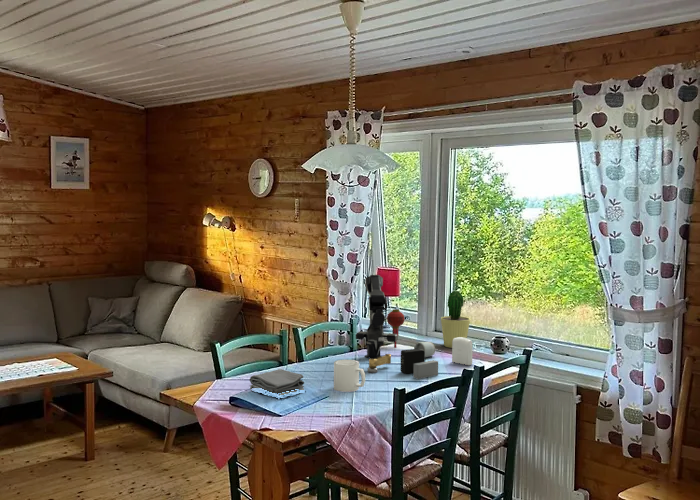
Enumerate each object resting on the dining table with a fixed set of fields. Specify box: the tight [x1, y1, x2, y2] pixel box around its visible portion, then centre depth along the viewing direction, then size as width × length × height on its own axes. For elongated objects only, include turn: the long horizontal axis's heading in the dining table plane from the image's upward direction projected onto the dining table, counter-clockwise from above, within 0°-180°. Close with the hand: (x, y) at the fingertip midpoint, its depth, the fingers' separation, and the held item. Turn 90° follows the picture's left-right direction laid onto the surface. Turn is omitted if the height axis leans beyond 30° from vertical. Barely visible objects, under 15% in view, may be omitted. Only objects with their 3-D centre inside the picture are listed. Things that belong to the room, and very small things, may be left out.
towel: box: [249, 368, 305, 395], centre depth 270 cm, size 15×18×8 cm
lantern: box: [386, 308, 406, 349], centre depth 356 cm, size 10×10×30 cm
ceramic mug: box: [413, 341, 436, 358], centre depth 337 cm, size 11×8×8 cm
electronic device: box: [399, 348, 426, 375], centre depth 304 cm, size 4×10×10 cm, turn 115°
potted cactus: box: [440, 290, 471, 349], centre depth 362 cm, size 15×15×30 cm
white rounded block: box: [451, 337, 474, 366], centre depth 323 cm, size 10×4×12 cm, turn 44°
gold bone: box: [368, 353, 392, 368], centre depth 309 cm, size 14×3×4 cm, turn 141°
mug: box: [333, 359, 366, 393], centre depth 276 cm, size 14×10×11 cm
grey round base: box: [367, 367, 378, 374], centre depth 305 cm, size 4×4×2 cm
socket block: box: [412, 359, 439, 380], centre depth 298 cm, size 3×12×6 cm, turn 128°
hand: (376, 355), depth 314 cm, fingers closed
